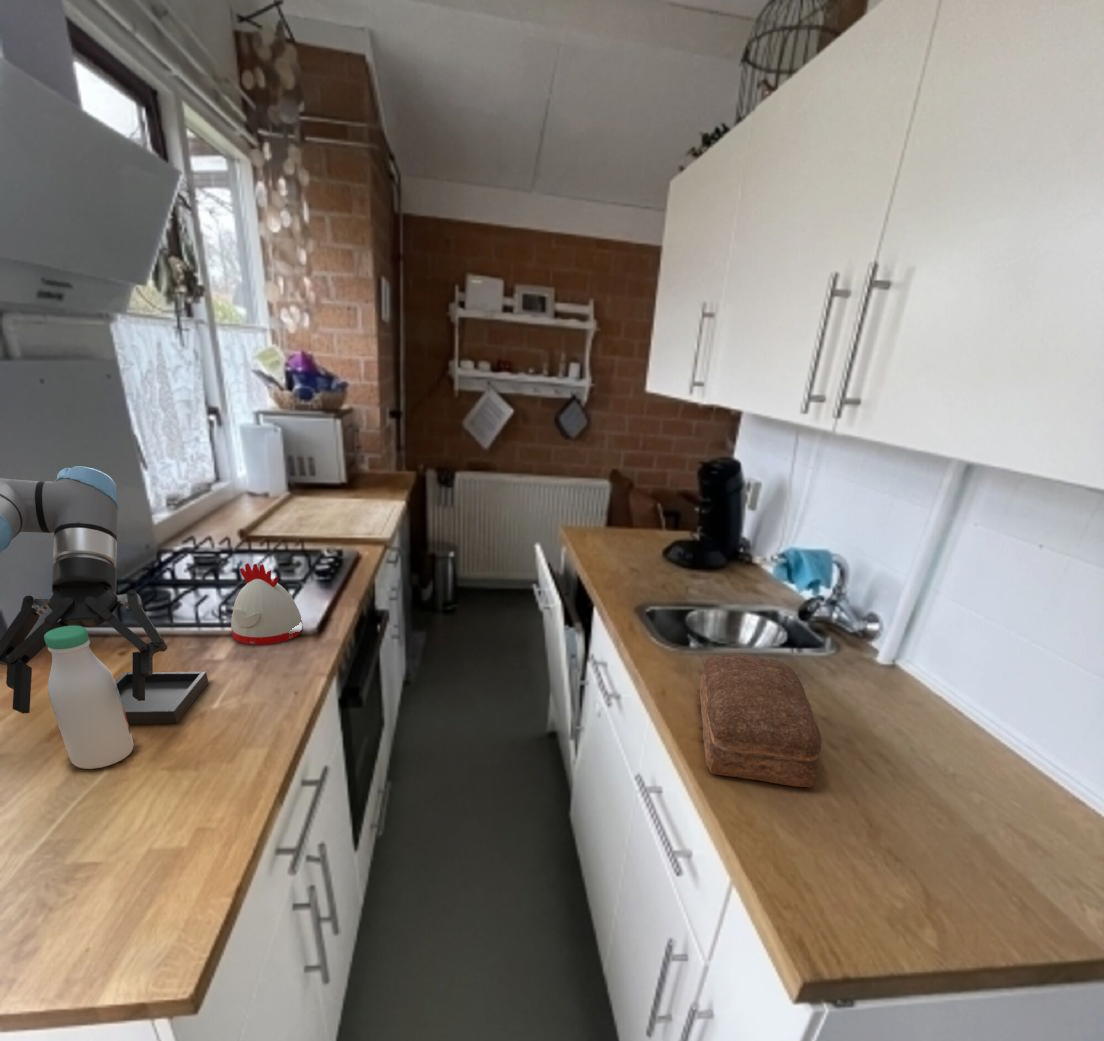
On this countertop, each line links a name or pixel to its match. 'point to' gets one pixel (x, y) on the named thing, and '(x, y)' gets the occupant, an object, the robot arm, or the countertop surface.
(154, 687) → the dock tray
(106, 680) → the milk bottle
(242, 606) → the kitchen timer
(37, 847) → the countertop surface
